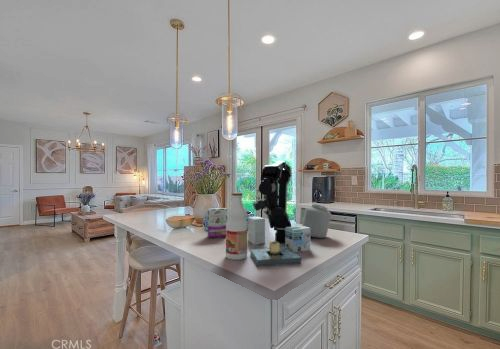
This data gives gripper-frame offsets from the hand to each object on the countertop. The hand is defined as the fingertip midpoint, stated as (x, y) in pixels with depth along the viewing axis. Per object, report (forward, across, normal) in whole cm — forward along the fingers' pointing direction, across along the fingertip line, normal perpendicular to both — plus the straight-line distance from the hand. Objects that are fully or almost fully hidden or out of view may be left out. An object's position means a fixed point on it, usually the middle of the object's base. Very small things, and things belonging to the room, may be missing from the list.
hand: (271, 227), depth 106 cm
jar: (+13, -26, +36) cm, 46 cm away
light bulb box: (+13, -5, +15) cm, 20 cm away
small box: (+13, -22, -2) cm, 25 cm away
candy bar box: (+13, -37, -22) cm, 45 cm away
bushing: (+12, +5, 0) cm, 13 cm away
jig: (+12, +5, 0) cm, 13 cm away
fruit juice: (+12, -1, -16) cm, 20 cm away
